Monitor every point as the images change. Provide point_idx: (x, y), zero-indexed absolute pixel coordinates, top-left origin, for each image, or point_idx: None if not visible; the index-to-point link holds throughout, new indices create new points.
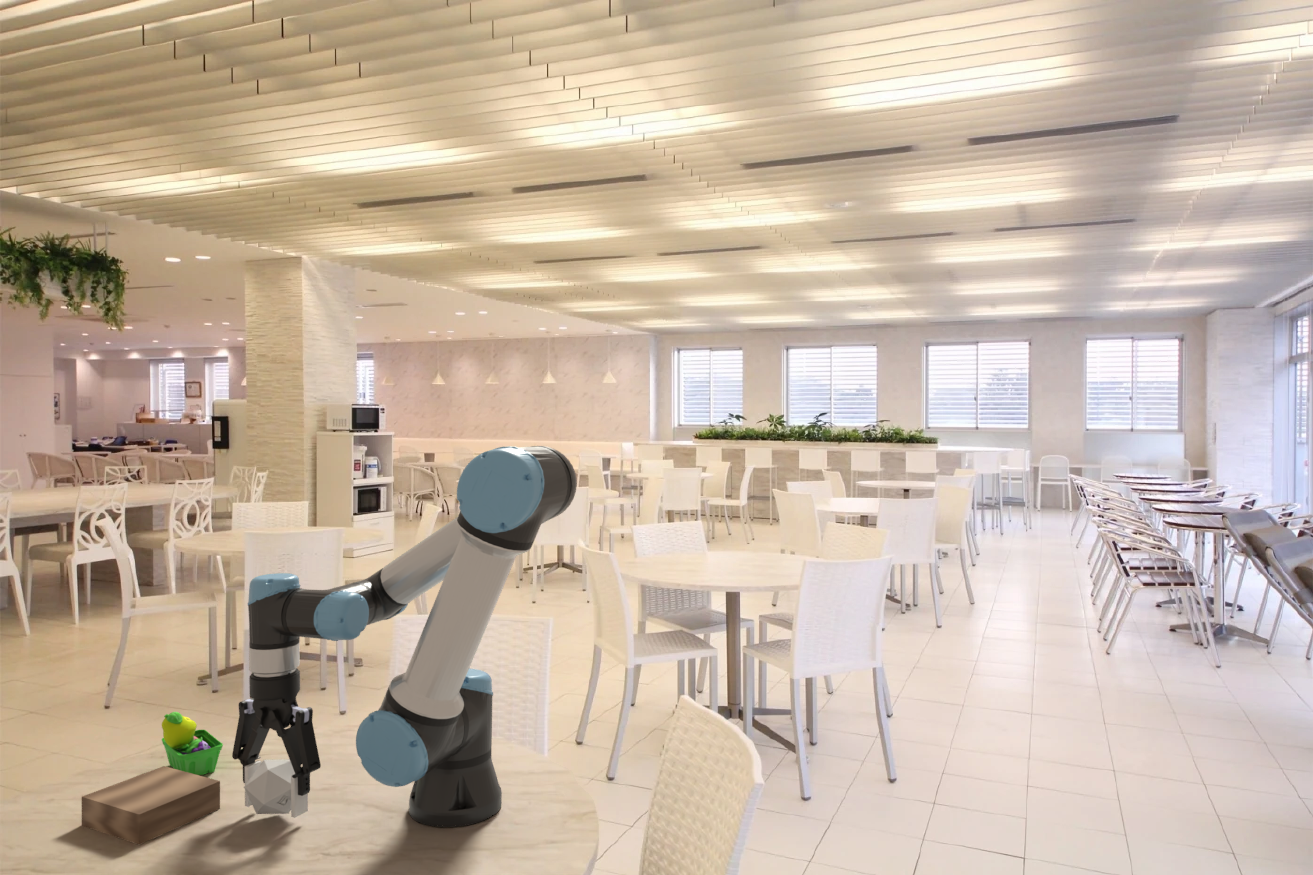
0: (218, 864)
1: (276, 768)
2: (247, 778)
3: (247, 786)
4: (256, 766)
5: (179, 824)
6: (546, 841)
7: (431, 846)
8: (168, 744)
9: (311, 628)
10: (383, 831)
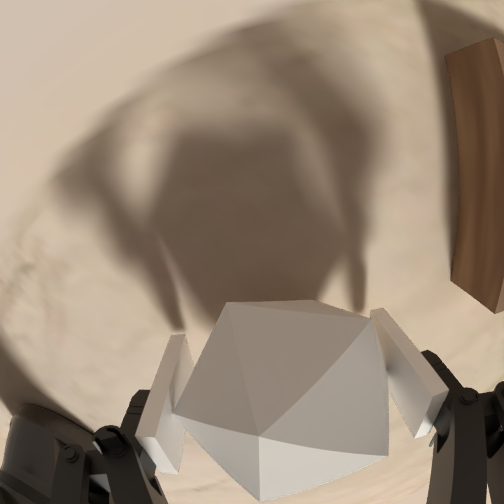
0: (162, 70)
1: (251, 455)
2: (414, 364)
3: (353, 327)
4: (415, 416)
5: (462, 163)
6: None
7: None
8: None
9: None
10: (50, 376)
